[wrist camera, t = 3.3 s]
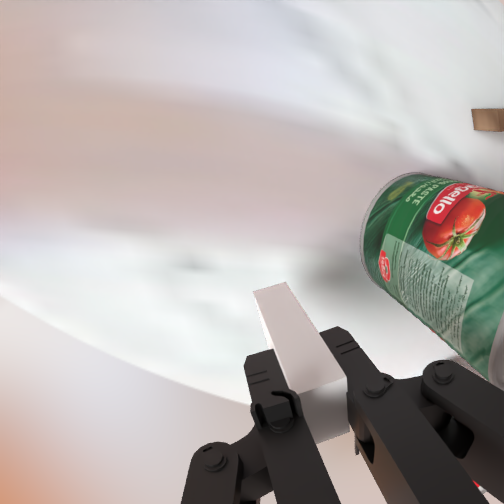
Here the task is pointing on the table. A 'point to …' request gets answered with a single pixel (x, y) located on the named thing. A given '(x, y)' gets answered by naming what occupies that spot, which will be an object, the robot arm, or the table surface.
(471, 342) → the canned tomato
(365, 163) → the table surface
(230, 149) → the table surface
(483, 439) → the robot arm
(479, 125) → the walnut bay
